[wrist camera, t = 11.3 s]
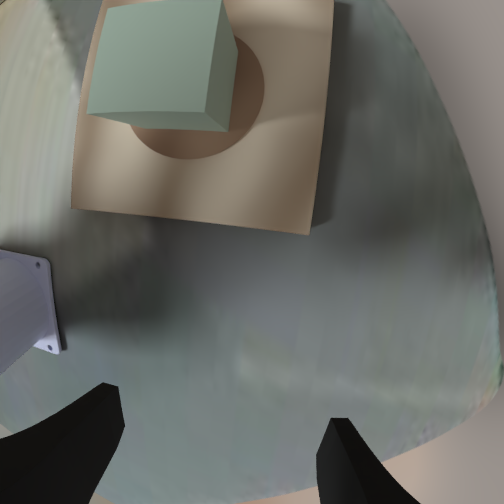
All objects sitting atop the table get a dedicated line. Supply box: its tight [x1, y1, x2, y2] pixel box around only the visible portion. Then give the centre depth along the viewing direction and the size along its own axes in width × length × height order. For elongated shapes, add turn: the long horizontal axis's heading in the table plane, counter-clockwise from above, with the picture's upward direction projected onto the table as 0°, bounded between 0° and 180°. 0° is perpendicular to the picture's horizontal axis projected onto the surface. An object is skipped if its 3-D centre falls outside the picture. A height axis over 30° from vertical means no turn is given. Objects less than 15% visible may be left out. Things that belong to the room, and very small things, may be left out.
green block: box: [86, 0, 238, 132], centre depth 12 cm, size 4×4×6 cm
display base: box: [71, 0, 334, 235], centre depth 16 cm, size 14×14×2 cm
